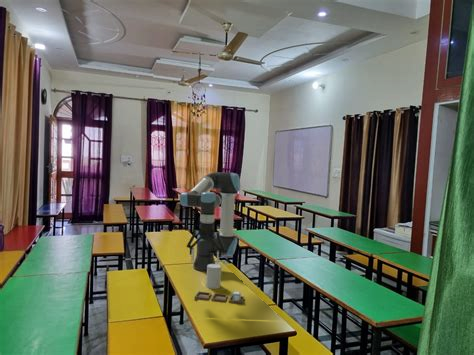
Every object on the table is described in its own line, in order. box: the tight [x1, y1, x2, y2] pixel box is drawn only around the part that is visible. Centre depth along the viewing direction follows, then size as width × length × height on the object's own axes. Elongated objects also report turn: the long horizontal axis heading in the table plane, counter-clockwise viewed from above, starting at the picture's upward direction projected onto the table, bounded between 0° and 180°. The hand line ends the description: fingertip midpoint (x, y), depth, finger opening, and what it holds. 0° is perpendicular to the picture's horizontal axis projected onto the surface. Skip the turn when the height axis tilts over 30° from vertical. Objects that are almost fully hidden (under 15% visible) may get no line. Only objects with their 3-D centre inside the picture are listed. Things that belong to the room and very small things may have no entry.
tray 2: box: [210, 292, 229, 303], centre depth 178 cm, size 7×7×2 cm
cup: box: [205, 263, 222, 290], centre depth 195 cm, size 8×8×12 cm
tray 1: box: [193, 290, 212, 301], centre depth 179 cm, size 7×7×2 cm
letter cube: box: [232, 291, 242, 301], centre depth 176 cm, size 4×4×4 cm
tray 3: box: [228, 294, 245, 305], centre depth 177 cm, size 7×7×2 cm
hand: (205, 262), depth 178 cm, fingers open, 13 cm apart
